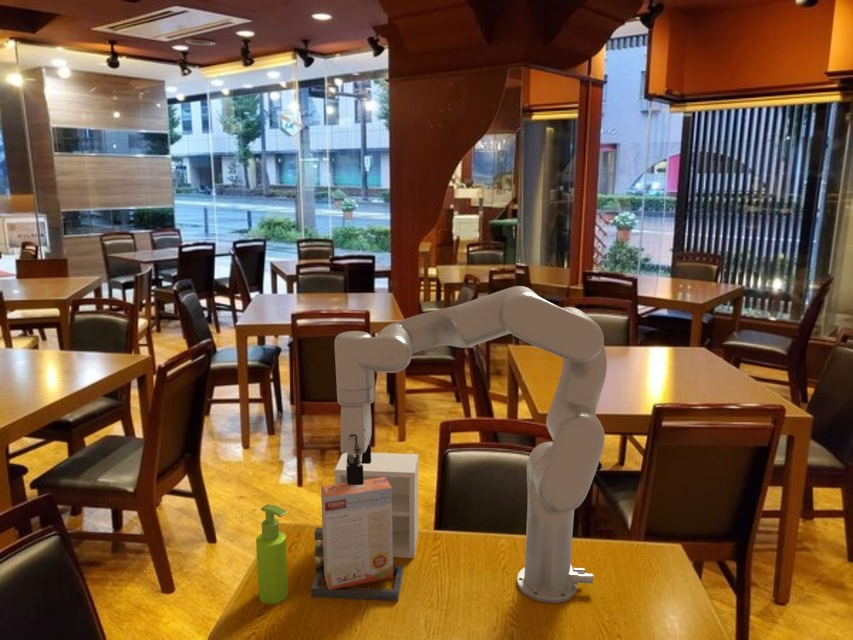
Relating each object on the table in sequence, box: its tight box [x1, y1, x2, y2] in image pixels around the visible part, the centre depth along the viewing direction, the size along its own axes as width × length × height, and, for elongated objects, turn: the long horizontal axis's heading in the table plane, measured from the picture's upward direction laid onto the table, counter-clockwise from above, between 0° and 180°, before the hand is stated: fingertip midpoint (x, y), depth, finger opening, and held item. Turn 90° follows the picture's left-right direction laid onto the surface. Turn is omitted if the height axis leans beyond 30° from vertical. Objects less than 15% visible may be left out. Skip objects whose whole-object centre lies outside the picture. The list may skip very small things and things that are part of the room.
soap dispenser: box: [255, 503, 289, 605], centre depth 130 cm, size 6×7×20 cm
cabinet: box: [334, 452, 419, 559], centre depth 149 cm, size 18×10×21 cm, turn 86°
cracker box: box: [320, 477, 394, 590], centre depth 133 cm, size 14×6×21 cm, turn 108°
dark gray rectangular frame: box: [310, 526, 404, 602], centre depth 135 cm, size 19×10×10 cm, turn 86°
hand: (359, 473), depth 131 cm, fingers open, 9 cm apart
